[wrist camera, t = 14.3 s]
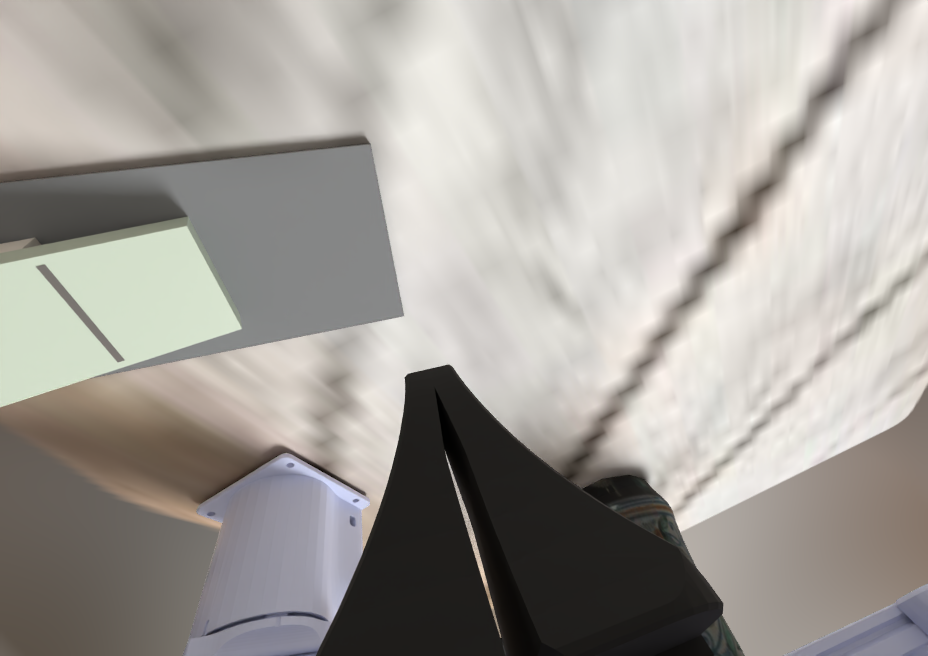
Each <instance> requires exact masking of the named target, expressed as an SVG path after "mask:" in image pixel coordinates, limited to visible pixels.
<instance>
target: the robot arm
mask: <svg viewBox="0 0 928 656" xmlns="http://www.w3.org/2000/svg"><path fill="white" fill-rule="evenodd" d="M445 452H446V454H447V457H448V460H449V463H450V466H451V468H452V471H453V474H454V477H455V479H456V482H457V485H458V488H459V491H460V493H461V496H462V499H463V502H464V504H465V507H466V510H467V513H468V515H469V518H470V522H471V525H472V528H473V531H474V534H475V538H476V542H477V546H478V549H479V553H480V557H481V561H482V564H483V568H484V572H485V576H486V579H487V583H488V587H489V591H490V595H491V599H492V602H493V606H494V610H495V614H496V618H497V622H498V626H499V629H500V633H501V637H502V641H503V645H504V648H503V645H502V642H501V639H500V636H499V633H498V629H497V626H496V623H495V620H494V616H493V613H492V610H491V607H490V604H489V600H488V597H487V594H486V591H485V587H484V584H483V581H482V578H481V575H480V571H479V568H478V565H477V561H476V558H475V555H474V551H473V548H472V545H471V541H470V538H469V535H468V531H467V528H466V525H465V521H464V518H463V514H462V511H461V508H460V504H459V501H458V497H457V494H456V490H455V487H454V483H453V480H452V476H451V473H450V469H449V466H448V462H447V459H446V454H445ZM369 504H370V499H369V498H367V497H366V496H364V495H362V494H360V493H359V492H357V491H355V490H353V489H351V488H350V487H348V486H346V485H344V484H343V483H341V482H339V481H337V480H336V479H334V478H332V477H330V476H329V475H327V474H325V473H323V472H321V471H320V470H318V469H316V468H314V467H313V466H311V465H309V464H307V463H306V462H304V461H302V460H300V459H298V458H297V457H295V456H293V455H291V454H289V453H283V454H281V455H279V456H277V457H276V458H274V459H272V460H271V461H269V462H268V463H266V464H264V465H263V466H261V467H260V468H258V469H256V470H255V471H253V472H251V473H250V474H248V475H247V476H245V477H243V478H242V479H240V480H239V481H237V482H235V483H234V484H232V485H230V486H229V487H227V488H226V489H224V490H222V491H221V492H219V493H218V494H216V495H214V496H213V497H211V498H210V499H208V500H206V501H205V502H203V503H201V504H200V505H199V506H198V508H197V511H196V512H197V514H199V515H201V516H204V517H207V518H210V519H213V520H216V521H218V522H221V523H222V526H221V529H220V533H219V536H218V540H217V543H216V547H215V550H214V553H213V557H212V561H211V564H210V567H209V571H208V574H207V577H206V581H205V585H204V588H203V591H202V595H201V598H200V602H199V605H198V609H197V612H196V615H195V619H194V622H193V626H192V629H191V633H190V636H189V640H188V643H187V645H186V648H185V650H184V653H183V655H182V656H714V653H713V652H712V650H711V649H710V647H709V646H708V644H707V642H706V641H705V639H704V638H703V636H702V635H701V634H702V633H703V632H704V631H705V630H706V629H707V628H709V627H710V626H711V625H712V624H713V623H714V622H715V621H716V620H717V619H718V618H719V617H720V616H721V615H722V614H723V602H722V601H721V599H720V598H719V597H718V595H717V594H716V593H715V591H714V590H713V589H712V587H711V586H710V584H709V583H708V582H707V580H706V579H705V578H704V577H703V575H702V574H701V573H700V572H699V571H698V569H697V568H696V567H695V566H694V565H693V564H692V563H691V561H690V560H689V559H688V558H687V557H686V556H685V555H684V553H683V552H682V551H681V550H680V549H679V548H678V547H677V546H675V545H673V544H671V543H670V542H668V541H666V540H664V539H662V538H661V537H659V536H657V535H655V534H653V533H652V532H650V531H648V530H646V529H645V528H643V527H641V526H639V525H638V524H636V523H634V522H633V521H631V520H629V519H627V518H626V517H624V516H622V515H621V514H619V513H618V512H616V511H614V510H613V509H611V508H610V507H608V506H606V505H605V504H603V503H602V502H600V501H598V500H597V499H596V498H594V497H593V496H591V495H590V494H588V493H587V492H585V491H584V490H582V489H581V488H580V487H578V486H577V485H575V484H574V483H572V482H571V481H569V480H568V479H566V478H565V477H564V476H562V475H561V474H559V473H558V472H557V471H556V470H554V469H553V468H552V467H550V466H549V465H548V464H546V463H545V462H544V461H543V460H541V459H540V458H539V457H538V456H536V455H535V454H534V453H533V452H532V451H530V450H529V449H528V448H527V447H526V446H524V445H523V444H522V443H521V442H520V441H519V440H518V439H517V438H515V437H514V436H513V435H512V434H511V433H510V432H509V431H508V430H507V429H506V428H505V427H504V426H503V425H502V424H501V423H500V422H499V421H498V420H497V419H496V418H495V417H494V416H493V415H492V414H491V413H490V412H489V411H488V410H487V409H486V408H485V407H484V406H483V405H482V404H481V403H480V401H479V400H478V399H477V398H476V397H475V396H474V395H473V393H472V392H471V391H470V390H469V389H468V387H467V386H466V385H465V384H464V382H463V381H462V380H461V378H460V377H459V376H458V374H457V373H456V371H455V370H454V368H453V367H452V366H450V365H445V366H440V367H436V368H431V369H427V370H423V371H418V372H414V373H410V374H407V376H406V377H405V404H404V412H403V418H402V424H401V430H400V436H399V441H398V445H397V449H396V453H395V457H394V461H393V466H392V469H391V473H390V476H389V480H388V483H387V487H386V490H385V493H384V496H383V499H382V502H381V505H380V508H379V511H378V514H377V516H376V519H375V522H374V525H373V527H372V530H371V533H370V536H369V538H368V541H367V543H366V546H365V548H364V551H363V544H362V513H361V510H362V509H364V508H366V507H367V506H369ZM504 649H505V651H504ZM505 653H506V655H505ZM783 656H928V584H926V585H924V586H922V587H920V588H918V589H916V590H914V591H912V592H910V593H908V594H906V595H904V596H903V597H901V598H899V599H898V600H896V603H894V604H892V605H890V606H887V607H885V608H883V609H881V610H879V611H877V612H875V613H873V614H870V615H868V616H866V617H864V618H862V619H860V620H858V621H856V622H854V623H852V624H849V625H847V626H845V627H843V628H841V629H839V630H836V631H834V632H832V633H830V634H828V635H826V636H824V637H822V638H819V639H817V640H815V641H813V642H811V643H809V644H807V645H804V646H802V647H800V648H798V649H796V650H794V651H792V652H790V653H787V654H785V655H783Z"/></svg>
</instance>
